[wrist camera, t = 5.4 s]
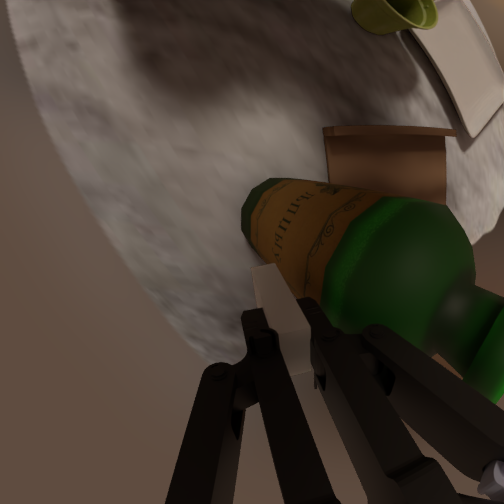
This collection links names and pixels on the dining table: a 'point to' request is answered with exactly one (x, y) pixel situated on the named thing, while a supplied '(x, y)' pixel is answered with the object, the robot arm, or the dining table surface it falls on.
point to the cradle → (389, 159)
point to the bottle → (382, 269)
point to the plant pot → (394, 15)
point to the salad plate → (464, 64)
